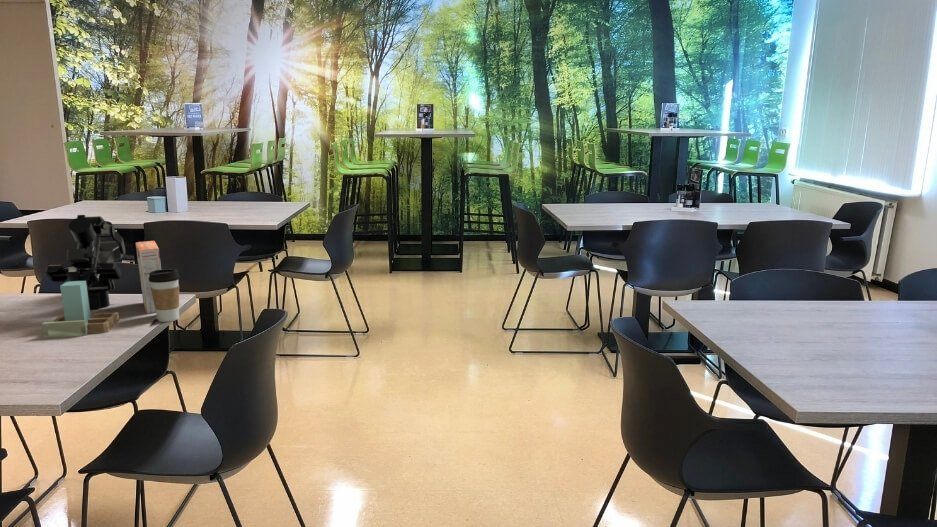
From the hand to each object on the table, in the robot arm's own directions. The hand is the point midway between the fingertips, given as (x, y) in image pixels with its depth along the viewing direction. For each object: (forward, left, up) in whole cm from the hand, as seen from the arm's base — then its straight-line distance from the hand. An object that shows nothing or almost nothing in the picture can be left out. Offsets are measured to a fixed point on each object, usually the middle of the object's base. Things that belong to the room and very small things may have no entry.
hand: (79, 297), depth 189 cm
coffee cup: (-5, +23, -8) cm, 25 cm away
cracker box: (-15, +14, -9) cm, 22 cm away
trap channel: (+6, +4, -8) cm, 11 cm away
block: (+3, +1, -7) cm, 8 cm away
